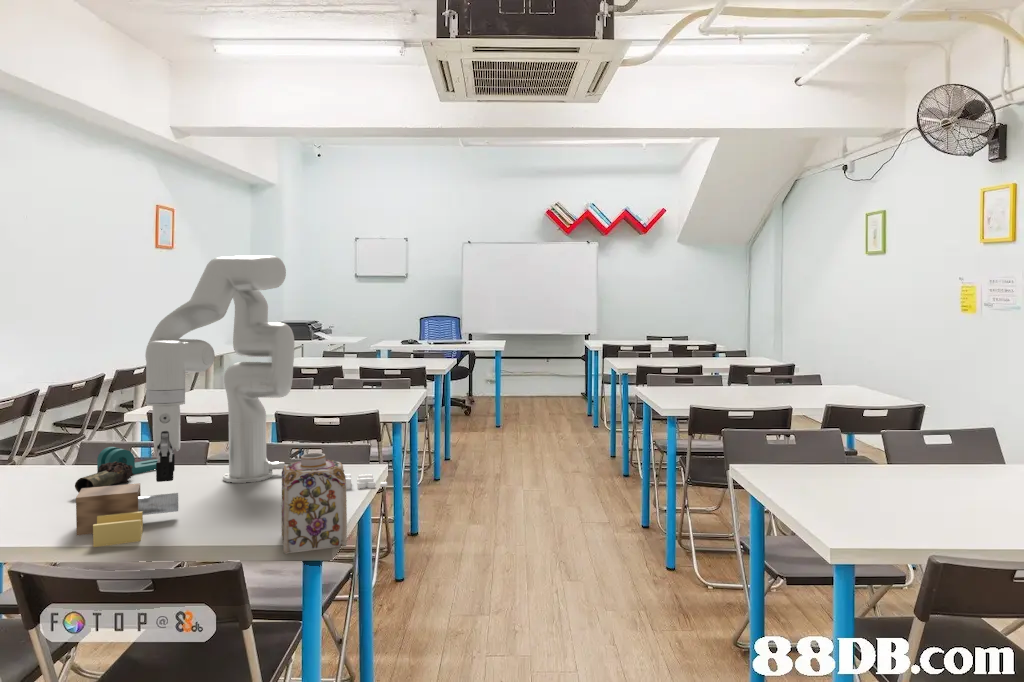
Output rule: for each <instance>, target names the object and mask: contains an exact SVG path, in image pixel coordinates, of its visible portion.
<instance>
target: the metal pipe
mask: <svg viewBox="0 0 1024 682" xmlns="http://www.w3.org/2000/svg"><path fill="white" fill-rule="evenodd" d="M132 468H133V466H131V465H127V464H125V463H122V462H120V463H117V461H116V462H112V463H111V462H108V463H106V464H102V465H101V466H99V468H98V472H97V473H93V474H89V475H85V476H83V477H80V478H78V479H77V480H76V482H75V483H74V488H75V491H76V492H78V493H79V492H80V490H81V489H82V488H91V487H103V486H114V485H119V484H123V483H124V484H125V483H128V482H129V481H128V480H129V479H131V478H132V477H133V476H135V474H133V473H132Z"/></svg>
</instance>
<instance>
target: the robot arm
mask: <svg viewBox="0 0 1024 682" xmlns="http://www.w3.org/2000/svg"><path fill="white" fill-rule="evenodd" d="M286 275H287V270H286V265H285V262H284V261H283V260H282V259H281V258H279V257H278V256H275V255H234V256H217V257H214V258H212V259H211V260H210V261H209V262H207V264H206V266H205V268H204V270H203V273H202V275H200V276H201V277H200V279H199V280H198V282H197V285H196V286H195V288H194V291H193V293H192V295H191V297H190V299H189V300H188V301H187V302H185V303H183V304H182V305H180V306H179V307H177V308H176V309H174V310H173V311H171V312H170V313H169V314H167V315H166V316H165V317H164V318H162V319H161V320H160V322H158V323H157V326H156V327H155V328H154V329H153V333H152V334H151V337H150V338H149V341H148V343H147V345H146V349H145V355H144V356H145V363H146V364H145V367H146V368H145V370H146V372H145V373H146V376H145V377H146V378H145V379H146V381H145V383H146V386H145V388H146V389H145V394H146V395H145V398H146V399H145V405H146V406H148V407H149V406H151V407H152V436H153V437H152V438H153V449H154V452H156V453H157V456H156V457H157V458H156V459H157V462H156V470H155V472H156V473H155V475H156V476H155V479H156V482H157V483H162V482H172V481H173V480H174V472H175V470H176V469H175V461H176V460H175V458H176V457H175V456H176V454H175V453H174V450H176V452H178V451H179V450H181V407H180V406H182V405H185V404H186V373H202V372H204V371H207V370H208V369H210V367H211V366H212V365H213V364H214V361H215V357H216V356H215V350H214V348H213V346H212V345H211V343H209V342H208V341H206V340H202V339H195V338H194V339H193V338H192V339H190V338H189V339H188V338H182V337H183V336H184V335H186V334H188V333H191V332H192V331H194V330H197V329H199V328H200V329H201V328H203V327H206V326H210V325H211V324H214V323H217V322H219V321H220V320H222V319H223V318H224V317H225V316H226V314H227V313H228V310H229V307H230V305H231V303H232V300H233V303H234V304H233V305H234V317H233V318H234V319H233V333H232V344H233V345H232V346H233V350H234V353H236V354H237V355H239V356H241V357H248V358H271V362H269V361H268V362H266V361H265V362H264V361H263V362H262V361H239V362H238V361H237V362H235V363H232V364H231V365H229V366H228V367H227V368H226V370H225V372H224V375H223V382H224V383H223V384H224V388H225V394H226V398H227V407H228V412H227V413H228V472H226V473H224V474H223V475H222V480H223V481H224V482H226V483H230V482H232V483H233V484H247V483H246V482H251V483H256V481H258V482H262V481H261V480H263V481H266V480H269V479H271V478H272V477H273V476H272V475H274V474H273V470H283V467H284V466H285V465H286V464H285V462H284V461H280V462H279V461H269V460H268V458H267V413H266V409H265V406H264V405H263V404H262V402H261V400H260V399H259V398H269V399H271V398H272V399H273V398H274V399H275V398H276V399H278V398H284V397H286V396H288V394H290V393H291V390H292V386H293V377H294V376H293V375H294V358H295V335H294V332H293V330H292V327H290V325H288V324H287V323H284V322H275V321H274V322H273V321H272V322H271V321H269V318H268V316H269V305H268V302H267V299H266V297H265V296H264V295H263V293H262V292H261V291H266V290H272V289H277V288H279V287H281V286H282V285H283V283H284V281H285V280H286ZM271 476H272V477H271ZM270 477H271V478H270ZM268 478H269V479H268ZM265 479H266V480H265ZM232 483H231V484H232Z"/></svg>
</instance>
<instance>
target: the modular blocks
mask: <svg viewBox="0 0 1024 682" xmlns="http://www.w3.org/2000/svg"><path fill="white" fill-rule="evenodd" d="M344 474H345V478H346V491H347V490H349V489H352V473H344ZM357 476H358V477H357V478H356V486H357V490H361V489H360V488H363V489H365V488H368V489H374V488H375V489H376V481H375V478H374V475H373V474H371V473H370V474H365V473H364V474H358V475H357ZM379 485H380V487H383V488H384V487H388V481H380V483H379Z"/></svg>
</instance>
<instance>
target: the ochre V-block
mask: <svg viewBox="0 0 1024 682" xmlns="http://www.w3.org/2000/svg"><path fill="white" fill-rule="evenodd" d="M143 516H144V515H143V511H140V512H130V513H120V514H111V515H101V516H97V524H94V525H93V534H92V535H93V536H92V539H93V543H92V544H93V545H92V546H93V548H99V547H105V546H107V547H108V546H112V545H122V544H127V543H128V544H130V543H137V542H141V541H142V536H143V531H144V525H143V523H144V520H143V519H144V517H143Z"/></svg>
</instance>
